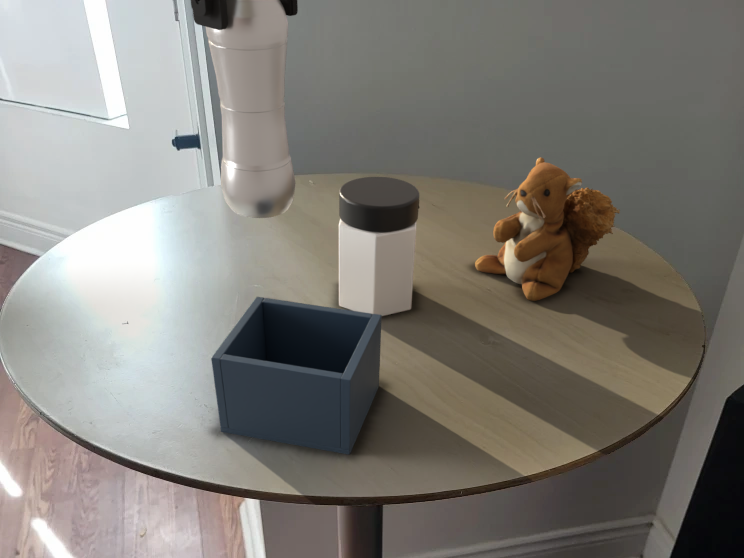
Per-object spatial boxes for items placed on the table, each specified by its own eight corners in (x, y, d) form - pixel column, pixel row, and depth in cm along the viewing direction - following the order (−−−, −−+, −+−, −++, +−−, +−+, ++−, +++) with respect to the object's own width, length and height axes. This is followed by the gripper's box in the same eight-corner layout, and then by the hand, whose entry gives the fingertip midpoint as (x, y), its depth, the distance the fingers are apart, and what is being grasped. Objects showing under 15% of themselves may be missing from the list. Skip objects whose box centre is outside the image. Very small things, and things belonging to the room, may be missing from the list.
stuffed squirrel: (467, 270, 92) (481, 155, 83) (560, 247, 97) (582, 137, 88) (518, 308, 85) (539, 187, 76) (615, 281, 91) (645, 166, 82)
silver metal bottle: (228, 230, 66) (199, -55, 53) (219, 199, 71) (191, -70, 57) (302, 224, 68) (293, -55, 54) (289, 194, 72) (277, -70, 59)
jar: (429, 296, 87) (438, 188, 79) (390, 327, 82) (396, 215, 73) (362, 274, 90) (364, 169, 82) (321, 302, 85) (319, 192, 77)
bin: (220, 434, 67) (210, 357, 62) (262, 369, 75) (256, 296, 70) (349, 457, 66) (350, 380, 60) (379, 388, 73) (381, 314, 68)
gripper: (282, -307, 54) (293, -3, 66) (61, -336, 44) (122, 28, 56) (364, -310, 50) (359, 12, 62) (144, -342, 40) (189, 47, 53)
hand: (247, 17), depth 59 cm, fingers closed on silver metal bottle, 6 cm apart
